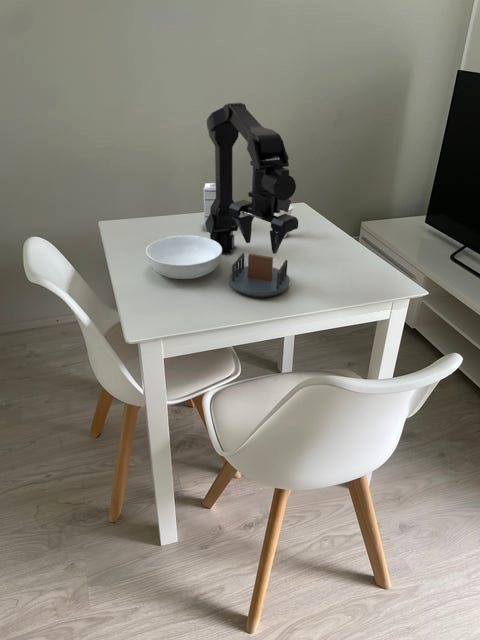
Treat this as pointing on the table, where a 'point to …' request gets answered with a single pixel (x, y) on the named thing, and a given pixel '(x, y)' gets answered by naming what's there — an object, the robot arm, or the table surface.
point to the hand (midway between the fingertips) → (261, 247)
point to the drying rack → (259, 276)
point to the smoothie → (285, 213)
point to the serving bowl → (184, 256)
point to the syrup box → (208, 199)
